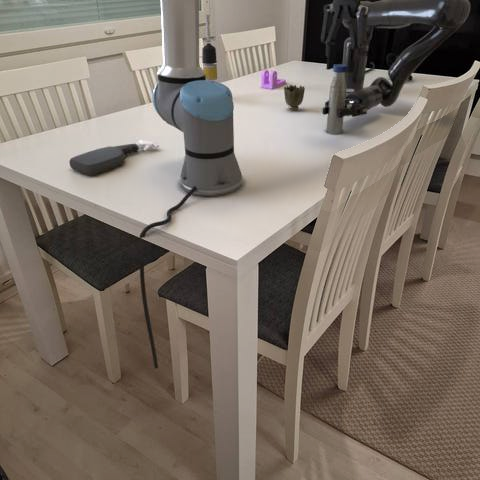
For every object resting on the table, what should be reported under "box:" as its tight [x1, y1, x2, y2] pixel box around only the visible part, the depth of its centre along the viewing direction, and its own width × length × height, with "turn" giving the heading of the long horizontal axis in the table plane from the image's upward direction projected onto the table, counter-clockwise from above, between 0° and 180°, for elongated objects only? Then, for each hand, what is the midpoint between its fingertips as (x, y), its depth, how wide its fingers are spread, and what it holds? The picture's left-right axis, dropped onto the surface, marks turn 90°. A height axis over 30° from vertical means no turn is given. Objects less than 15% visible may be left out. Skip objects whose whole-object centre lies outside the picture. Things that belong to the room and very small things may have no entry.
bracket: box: [260, 69, 287, 90], centre depth 194 cm, size 13×6×7 cm, turn 143°
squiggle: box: [385, 52, 414, 81], centre depth 198 cm, size 11×10×15 cm
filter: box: [201, 14, 218, 82], centre depth 171 cm, size 6×6×30 cm
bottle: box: [326, 72, 346, 135], centre depth 137 cm, size 5×5×19 cm
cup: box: [283, 84, 306, 112], centre depth 161 cm, size 8×7×8 cm
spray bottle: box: [68, 139, 160, 177], centre depth 124 cm, size 3×11×24 cm
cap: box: [332, 63, 347, 73], centre depth 132 cm, size 4×4×2 cm
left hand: (340, 70), depth 132 cm, fingers open, 6 cm apart
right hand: (331, 112), depth 137 cm, fingers closed on bottle, 5 cm apart
